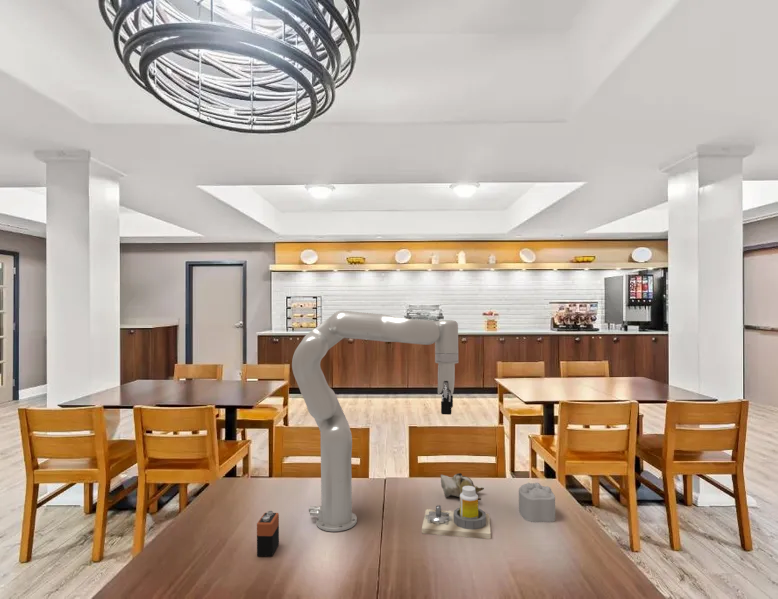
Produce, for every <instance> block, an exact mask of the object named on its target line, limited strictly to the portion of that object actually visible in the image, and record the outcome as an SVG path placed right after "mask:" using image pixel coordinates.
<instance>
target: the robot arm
mask: <svg viewBox="0 0 778 599" xmlns="http://www.w3.org/2000/svg"><path fill="white" fill-rule="evenodd" d="M343 339H354V340H368V341H376V342H378V341H379V342H386V343H387V342H390V343H392V342H393V343H402V344H411V345H412V344H414V345H426V346H427V345H432V344H434V355H435V356H434V363H435V364H438V366H437V394H438V395H440V394H441V401H440V413H441V415H446V416H447V415H450V416H451V415H452V408H454V400H453V399H454V397H453V396H454V395H453V394H454V391H455V390H454V389H455V379H456V378H455V377H456V376H455V374H456V373H455V372H456V369H455V366H456V364H459V324H458V322H457V321H456V320H451V319H450V320H446V319H445V320H444V319H441V320H427V319H414V318H412V319H411V318H405V317H404V318H403V317H396V316H392V315H388V314H382V313H373V312H372V313H371V312H360V311H351V310H350V311H349V310H338V311H336V312H334V313H333V314H331V316H329V317H328V318H327V319H325V320H324V321H322V323H320V324H318V325H317V326H316V327H315V328H313V329H312V330H311V331H309V332H308V333H307V334H306V335H305V336H304V337H302V340H301V341H300V343H299V344H298V346H297V347H296V348H295V350H294V353H293V356H292V360H291V361H292V362H291V368H292V373H293V376H294V379H295V381H296V384H297V387H298V389H299V391H300V394H301V396H302V399H303V401H304V403H305V406H306V408H307V411H308V413H309V415H310V416H311V417H312V418H313V419H314V421H315V423H316V425H317V427H318V430H319V432H320V489H321V490H320V492H321V496H320V500H321V501H320V504H321V505H319V506H315V505H310V506H309V507H308V513H309V516H312V517H314V516H315V517H316V516H317V517H316V520H315V521H316V526H317V527H318V528H319V529H320V530H323V531H326V532H333V533H334V532H343V531H346V530H349V529H351V528H353V527H354V526H356V524H357V521H358V518H357V515H356V513H354V512H353V509H352V508H353V502H352V501H353V498H352V497H353V496H352V494H353V483H352V482H353V481H352V480H353V478H352V477H353V476H352V474H353V472H352V456H353V455H352V454H353V453H352V450H353V436H352V435H353V434H352V431H351V428H350V425H349V422H348V419H347V417H346V415H345V413H344V411H343V409H342V406H341V404H340V401H339V399H338V397H337V395H336V393H335V391H334V389H332V388H331V387H330V386H329V384H328V382H327V380H326V376H325V375H324V372H323V370H322V367H321V363H322V362H321V361H322V359H323V358H324V357H325V356H326V354H327V353H328V351H329V350H330V349H332V348H333V347H335V345H337V343H339V342H340V341H341V340H343Z"/></svg>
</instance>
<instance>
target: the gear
mask: <svg viewBox="0 0 778 599" xmlns="http://www.w3.org/2000/svg"><path fill="white" fill-rule="evenodd" d="M435 510H436V512H432V511H430V512H429V515H426V516H425V515H424V516H425V519H427V521H428V523H429V524H430V523H433V524H436V525H437V526H439V524H445V525H447V524H449V523H448V521H452V516H449V513H448V512H446V513H444V512H441V510H442V506H441V505H440V504H439V505H438V504H437V505H435Z"/></svg>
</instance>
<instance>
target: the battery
mask: <svg viewBox="0 0 778 599" xmlns="http://www.w3.org/2000/svg"><path fill="white" fill-rule="evenodd" d="M279 522H280V514H279V512H273V511H272V510H269V511H267V512H263V514H262V516H261V517H260V518H259V520H258V521H257V523H256V555H257V557H272V556H273V555H274V553H275V552H276V550H277V548H278V546H279V544H280V527H279V526H280V523H279Z"/></svg>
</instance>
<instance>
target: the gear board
mask: <svg viewBox="0 0 778 599" xmlns="http://www.w3.org/2000/svg"><path fill="white" fill-rule="evenodd" d="M430 511H432V512H436V509H430V508H429V509H428V508H427V509H425V513H424V517H423V521H422V527H421V534H422V535H423V534H425V535H438V536H449V537H461V538H473V539H474V538H475V539H486V540H491V538H492V537H491V536H492V535H491V534H492V533H491V522H490V520H491V519H490V513H486V525H485V526H484V527H483V528H480V529H475V530H472V529H464V528H461V527H458V526H457V525H456V524H455V523H454V510H442V509H441V512H444V513H446V512H448V513H449V516H452V521H448V523H449V524H447V525H445V524H439V526H437V525H436V524H433V523H430V524H429V523H428V521H427V519H425V516H426V515H429V512H430ZM478 519H479V518H478Z"/></svg>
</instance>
